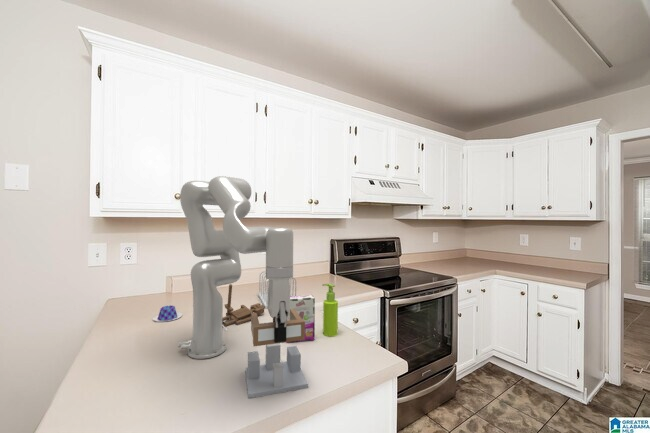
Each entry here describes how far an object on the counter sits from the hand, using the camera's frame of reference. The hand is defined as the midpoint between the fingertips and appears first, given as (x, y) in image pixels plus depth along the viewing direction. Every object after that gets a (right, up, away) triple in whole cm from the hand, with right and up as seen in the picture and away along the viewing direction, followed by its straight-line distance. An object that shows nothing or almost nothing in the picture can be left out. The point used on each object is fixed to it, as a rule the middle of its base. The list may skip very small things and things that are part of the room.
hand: (279, 338), depth 78 cm
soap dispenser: (+14, -14, +38) cm, 43 cm away
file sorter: (-15, -15, +83) cm, 86 cm away
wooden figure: (-25, -14, +52) cm, 59 cm away
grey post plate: (-2, -13, +4) cm, 14 cm away
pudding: (-61, -14, +54) cm, 82 cm away
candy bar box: (+3, -14, +32) cm, 35 cm away
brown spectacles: (-2, -1, +5) cm, 5 cm away
